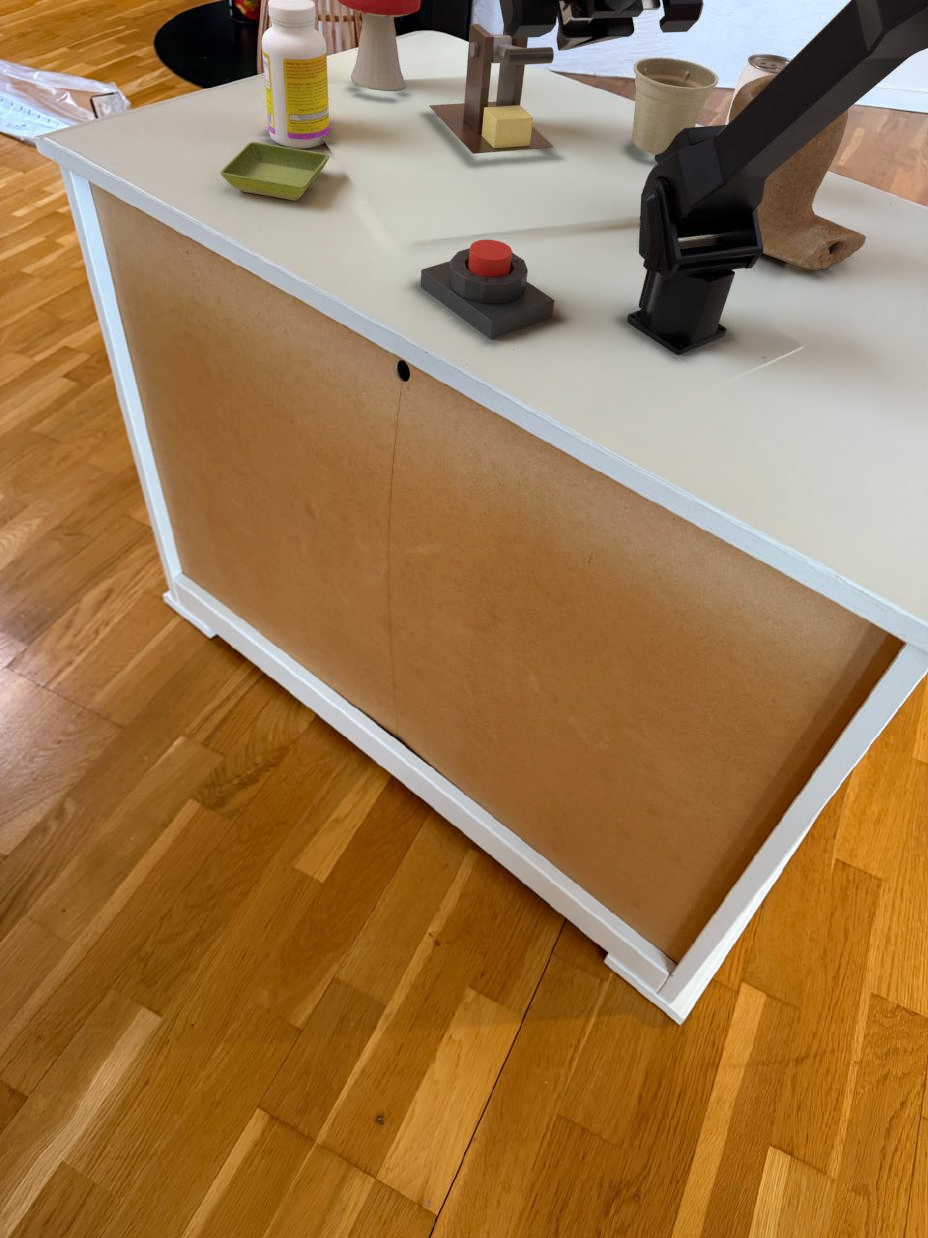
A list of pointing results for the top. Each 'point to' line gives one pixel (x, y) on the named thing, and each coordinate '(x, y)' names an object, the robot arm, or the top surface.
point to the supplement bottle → (295, 75)
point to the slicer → (486, 94)
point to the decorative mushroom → (379, 43)
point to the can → (759, 70)
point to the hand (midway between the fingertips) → (560, 44)
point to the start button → (490, 258)
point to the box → (488, 295)
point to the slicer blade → (519, 53)
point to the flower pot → (668, 100)
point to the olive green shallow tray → (274, 170)
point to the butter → (507, 126)
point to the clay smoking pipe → (801, 198)
